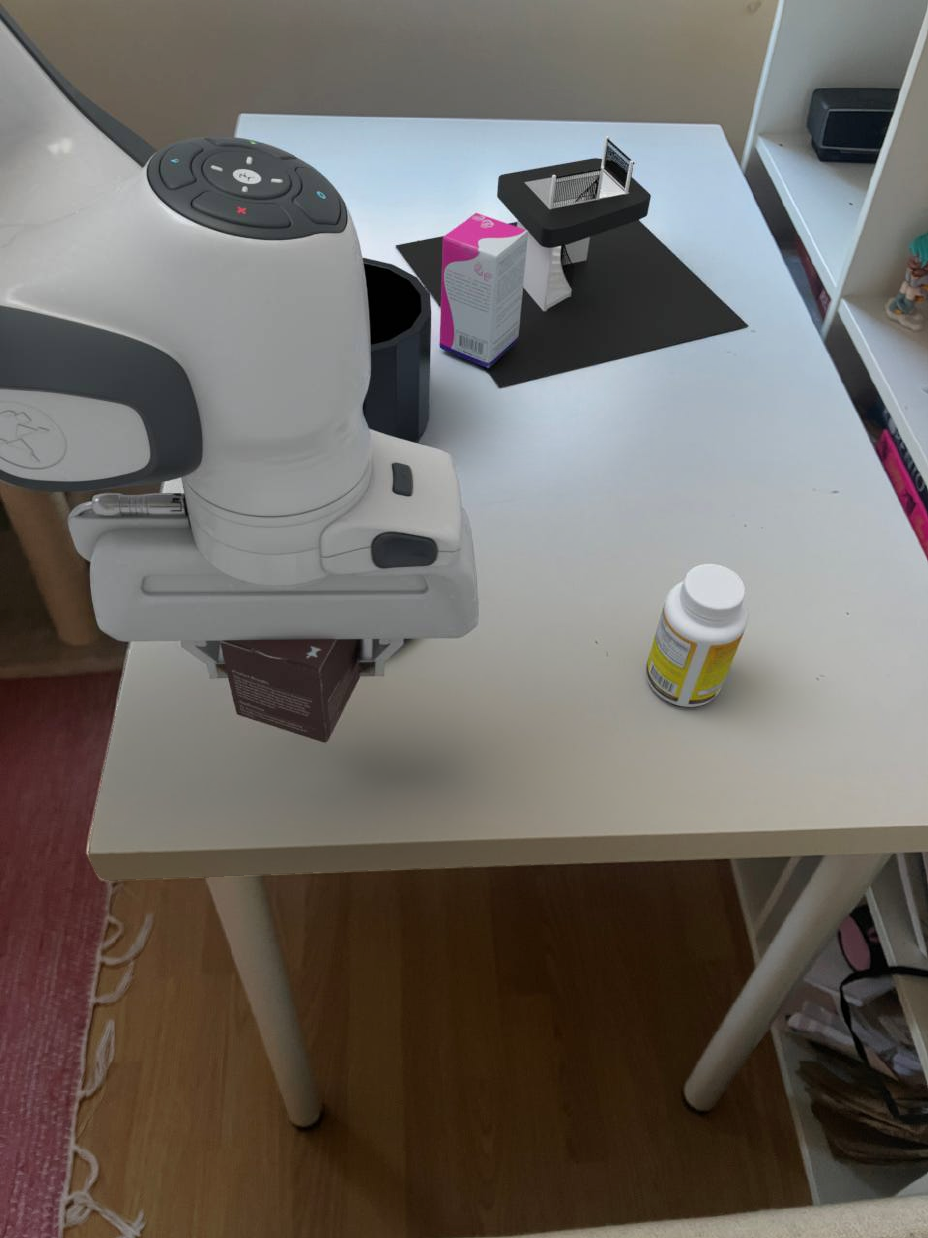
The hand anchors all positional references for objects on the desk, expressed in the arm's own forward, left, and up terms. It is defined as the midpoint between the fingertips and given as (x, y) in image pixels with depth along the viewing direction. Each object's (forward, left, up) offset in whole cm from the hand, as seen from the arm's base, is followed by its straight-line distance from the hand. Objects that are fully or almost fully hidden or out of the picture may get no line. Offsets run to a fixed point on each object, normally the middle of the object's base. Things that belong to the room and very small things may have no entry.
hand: (299, 668), depth 59 cm
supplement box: (+15, +46, -10) cm, 49 cm away
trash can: (+2, +36, -10) cm, 38 cm away
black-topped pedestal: (+24, +57, -11) cm, 63 cm away
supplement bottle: (+26, +6, -11) cm, 29 cm away
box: (0, 0, -3) cm, 3 cm away
